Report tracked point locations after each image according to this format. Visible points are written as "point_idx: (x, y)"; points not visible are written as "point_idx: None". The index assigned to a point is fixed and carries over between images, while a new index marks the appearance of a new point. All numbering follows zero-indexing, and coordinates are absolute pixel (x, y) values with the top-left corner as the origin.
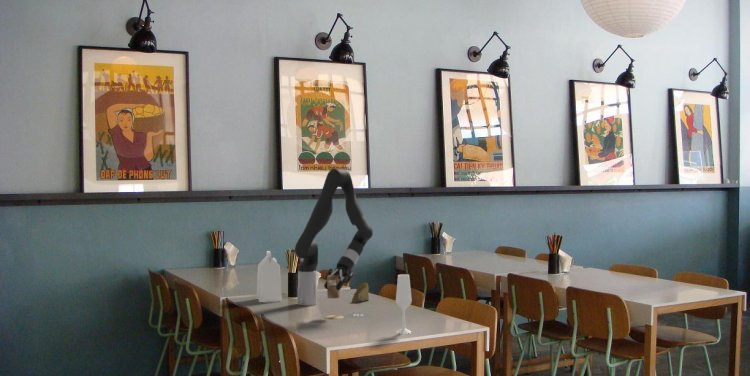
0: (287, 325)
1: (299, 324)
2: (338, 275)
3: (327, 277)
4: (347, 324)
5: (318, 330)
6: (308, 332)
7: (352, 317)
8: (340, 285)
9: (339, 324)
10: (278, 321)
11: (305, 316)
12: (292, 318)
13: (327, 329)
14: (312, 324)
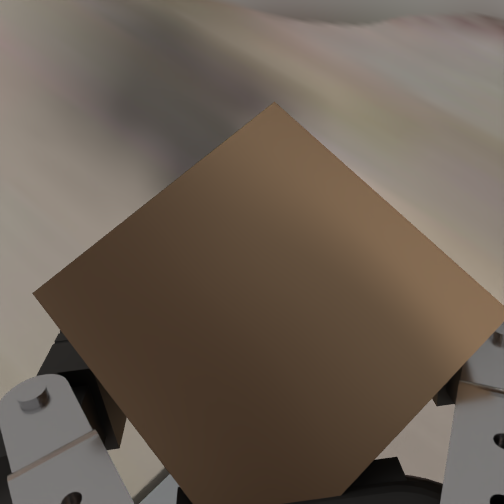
0: (282, 21)
1: (256, 80)
2: (205, 482)
3: (266, 119)
4: (10, 297)
5: (34, 65)
6: (41, 6)
7: (144, 498)
8: (59, 350)
9: (56, 256)
10: (428, 43)
11: (480, 259)
12: (466, 151)
13: (10, 113)
14: (196, 133)
